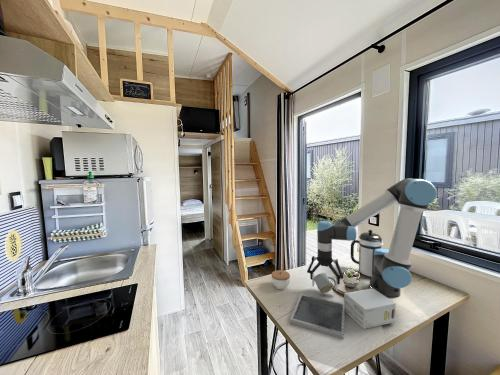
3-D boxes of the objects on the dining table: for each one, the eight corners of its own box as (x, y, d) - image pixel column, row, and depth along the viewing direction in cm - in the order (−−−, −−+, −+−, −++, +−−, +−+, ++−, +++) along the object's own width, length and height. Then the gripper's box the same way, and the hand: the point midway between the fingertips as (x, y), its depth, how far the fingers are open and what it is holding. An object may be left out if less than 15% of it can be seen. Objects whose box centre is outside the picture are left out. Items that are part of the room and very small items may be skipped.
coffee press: (377, 270, 146) (378, 226, 144) (386, 281, 131) (388, 233, 129) (350, 268, 150) (350, 225, 148) (355, 279, 135) (356, 232, 133)
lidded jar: (272, 281, 133) (272, 266, 133) (290, 283, 131) (290, 268, 130) (270, 290, 123) (270, 275, 122) (289, 292, 121) (289, 276, 120)
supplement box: (363, 330, 92) (364, 309, 91) (343, 310, 104) (343, 292, 104) (395, 322, 96) (396, 302, 95) (372, 305, 109) (372, 287, 108)
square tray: (345, 307, 107) (345, 303, 106) (343, 339, 87) (343, 334, 87) (300, 297, 116) (300, 293, 116) (290, 323, 96) (290, 319, 96)
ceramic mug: (321, 295, 118) (319, 289, 114) (314, 282, 125) (312, 275, 120) (339, 288, 118) (338, 282, 113) (332, 275, 124) (330, 268, 120)
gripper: (348, 249, 117) (348, 288, 118) (304, 244, 127) (304, 280, 128) (348, 254, 110) (348, 295, 111) (301, 248, 120) (301, 286, 122)
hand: (324, 287), depth 120 cm, fingers closed on ceramic mug, 12 cm apart
